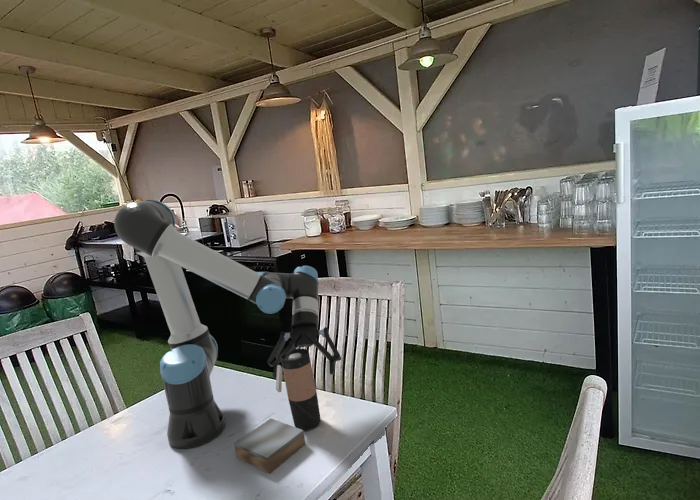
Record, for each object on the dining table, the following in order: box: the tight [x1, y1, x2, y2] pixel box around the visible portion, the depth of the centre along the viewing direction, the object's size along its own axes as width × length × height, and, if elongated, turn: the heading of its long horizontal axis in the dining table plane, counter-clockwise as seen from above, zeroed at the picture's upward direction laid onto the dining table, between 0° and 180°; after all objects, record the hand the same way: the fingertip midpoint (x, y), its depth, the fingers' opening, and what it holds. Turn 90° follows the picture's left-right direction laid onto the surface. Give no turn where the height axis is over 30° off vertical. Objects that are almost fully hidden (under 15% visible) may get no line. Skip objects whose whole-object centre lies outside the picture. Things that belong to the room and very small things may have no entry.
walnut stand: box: [233, 418, 306, 474], centre depth 110 cm, size 12×12×4 cm
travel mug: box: [281, 348, 322, 432], centre depth 119 cm, size 8×8×20 cm
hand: (303, 388), depth 118 cm, fingers open, 13 cm apart
